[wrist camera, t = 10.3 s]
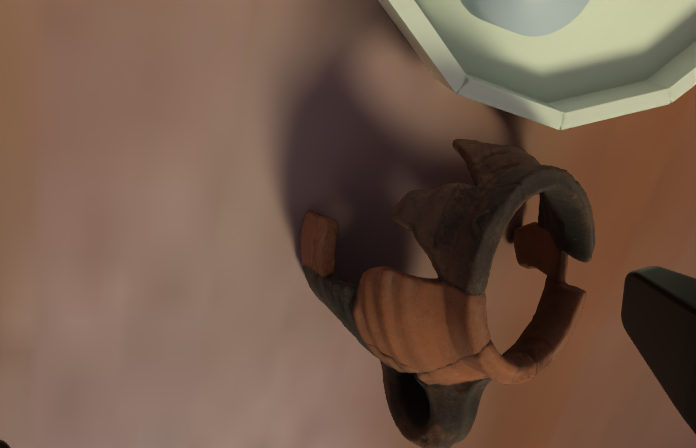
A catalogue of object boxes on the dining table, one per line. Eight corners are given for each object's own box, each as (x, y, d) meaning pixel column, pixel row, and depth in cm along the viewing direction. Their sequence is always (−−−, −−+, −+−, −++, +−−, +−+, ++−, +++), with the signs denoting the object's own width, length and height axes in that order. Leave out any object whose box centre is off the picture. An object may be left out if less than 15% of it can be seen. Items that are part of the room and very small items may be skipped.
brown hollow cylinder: (276, 136, 20) (451, 155, 14) (449, 122, 26) (627, 132, 20) (289, 428, 23) (439, 551, 17) (442, 358, 29) (596, 430, 23)
